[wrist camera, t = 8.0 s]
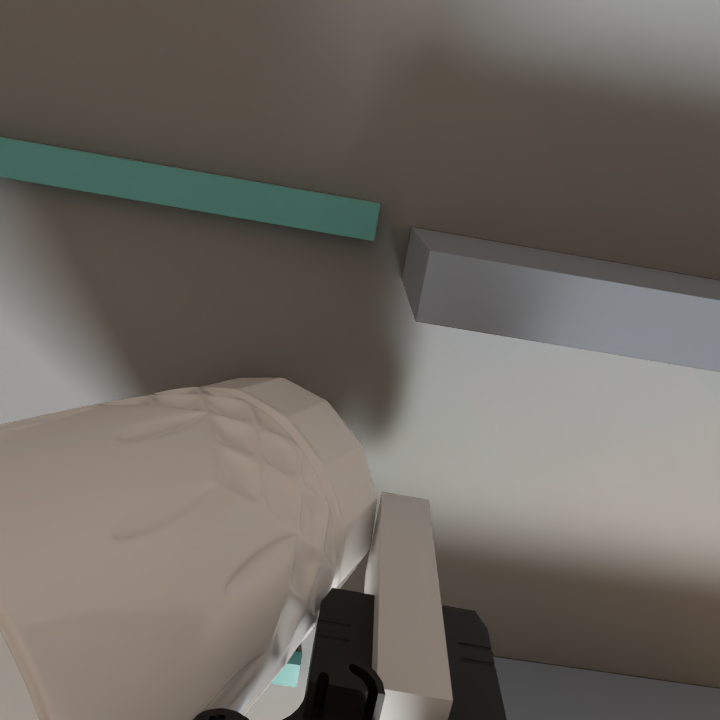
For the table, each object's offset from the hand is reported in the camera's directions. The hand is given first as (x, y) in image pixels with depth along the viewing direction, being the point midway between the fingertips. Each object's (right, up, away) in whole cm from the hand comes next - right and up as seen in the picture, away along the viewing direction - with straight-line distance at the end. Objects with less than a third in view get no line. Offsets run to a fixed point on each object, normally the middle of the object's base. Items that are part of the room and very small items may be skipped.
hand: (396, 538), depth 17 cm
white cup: (-3, +1, +1) cm, 4 cm away
